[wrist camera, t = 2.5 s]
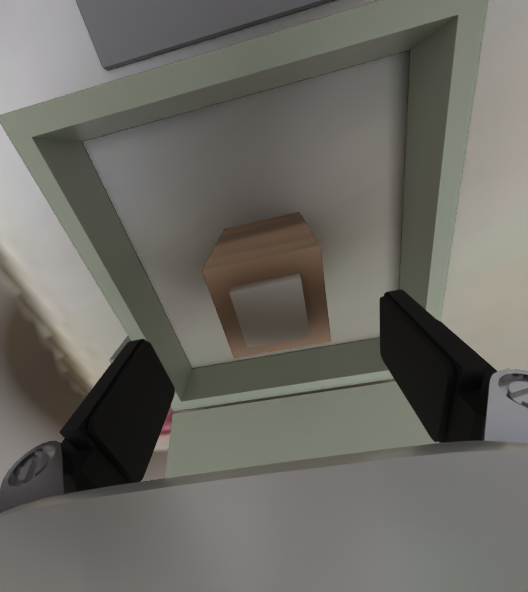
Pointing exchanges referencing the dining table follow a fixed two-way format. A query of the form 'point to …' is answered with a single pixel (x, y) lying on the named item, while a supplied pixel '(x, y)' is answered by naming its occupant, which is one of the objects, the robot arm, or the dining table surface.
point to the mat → (171, 23)
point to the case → (302, 364)
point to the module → (269, 286)
